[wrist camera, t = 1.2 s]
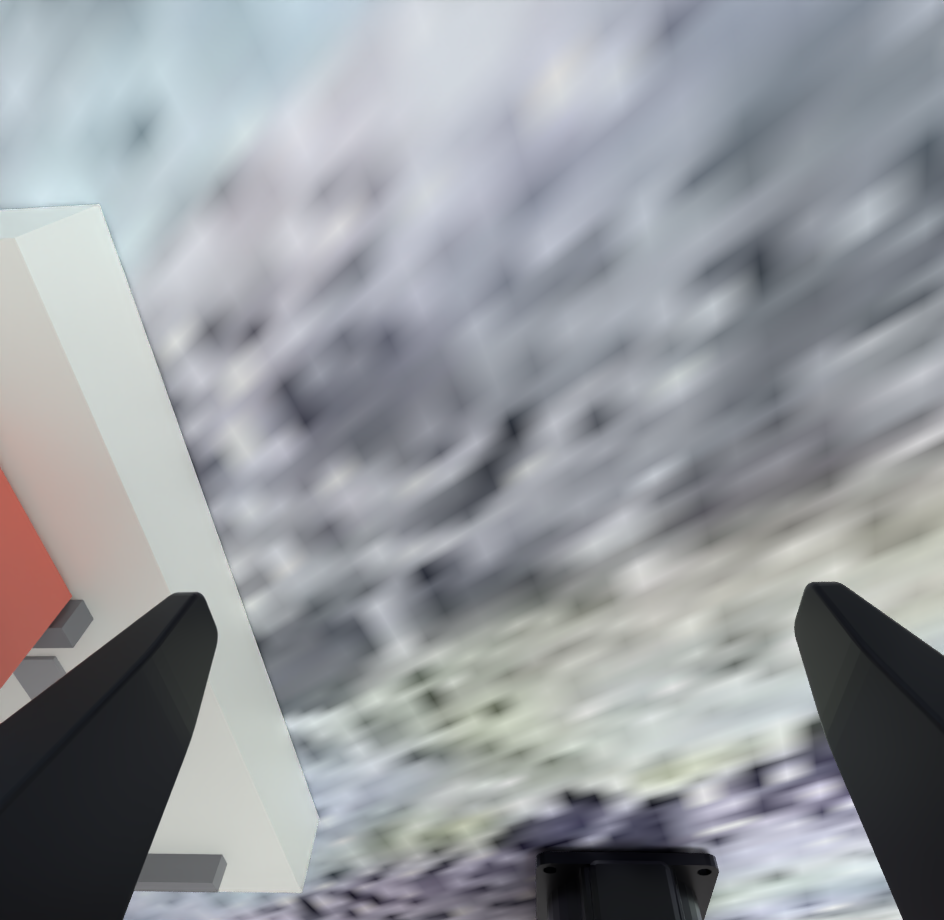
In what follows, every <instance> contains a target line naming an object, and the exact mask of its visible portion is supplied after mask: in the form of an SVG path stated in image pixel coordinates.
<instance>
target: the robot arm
mask: <svg viewBox="0 0 944 920" xmlns="http://www.w3.org/2000/svg"><path fill="white" fill-rule="evenodd" d="M794 630H795V637H796V641H797V644H798V647H799V651H800V654H801V657H802V661H803V664H804V667H805V671H806V674H807V677H808V681H809V684H810V687H811V691H812V694H813V697H814V701H815V704H816V707H817V711H818V714H819V717H820V721H821V724H822V727H823V730H824V733H825V736H826V739H827V741H828V744H829V746H830V749H831V751H832V754H833V756H834V759H835V761H836V763H837V766H838V768H839V770H840V773H841V775H842V777H843V780H844V782H845V784H846V787H847V789H848V791H849V794H850V796H851V799H852V801H853V803H854V806H855V808H856V810H857V813H858V815H859V817H860V820H861V822H862V824H863V827H864V829H865V831H866V834H867V836H868V839H869V841H870V843H871V846H872V848H873V850H874V853H875V855H876V857H877V860H878V862H879V864H880V867H881V869H882V871H883V874H884V876H885V878H886V881H887V883H888V886H889V888H890V890H891V893H892V895H893V897H894V900H895V902H896V904H897V907H898V909H899V911H900V914H901V916H902V918H903V920H944V655H942V654H941V653H939V652H938V651H936V650H935V649H934V648H932V647H931V646H929V645H928V644H927V643H925V642H924V641H922V640H921V639H920V638H918V637H917V636H915V635H914V634H912V633H911V632H910V631H908V630H907V629H905V628H904V627H903V626H901V625H900V624H898V623H897V622H896V621H894V620H893V619H891V618H890V617H888V616H887V615H886V614H884V613H883V612H881V611H880V610H879V609H877V608H876V607H874V606H873V605H872V604H870V603H869V602H867V601H866V600H864V599H863V598H862V597H860V596H859V595H857V594H856V593H855V592H853V591H852V590H850V589H849V588H848V587H846V586H845V585H843V584H841V583H839V582H812V583H809V584H808V585H807V586H806V588H805V590H804V593H803V596H802V600H801V603H800V606H799V609H798V613H797V616H796V619H795V625H794ZM217 642H218V631H217V627H216V624H215V621H214V619H213V616H212V614H211V611H210V609H209V606H208V604H207V601H206V599H205V597H204V596H203V595H202V594H201V593H199V592H176V593H173V594H171V595H169V596H168V597H167V598H165V599H164V600H163V601H161V602H160V603H159V604H157V605H156V606H155V607H153V608H152V609H151V610H149V611H148V612H147V613H146V614H144V615H143V616H142V617H140V618H139V619H138V620H136V621H135V622H134V623H132V624H131V625H130V626H128V627H127V628H126V629H124V630H123V631H122V632H121V633H119V634H118V635H117V636H115V637H114V638H113V639H111V640H110V641H109V642H107V643H106V644H105V645H103V646H102V647H101V648H99V649H98V650H97V651H95V652H94V653H93V654H92V655H90V656H89V657H88V658H86V659H85V660H84V661H82V662H81V663H80V664H78V665H77V666H76V667H74V668H73V669H72V670H70V671H69V672H68V673H67V674H65V675H64V676H63V677H61V678H60V679H59V680H57V681H56V682H55V683H53V684H52V685H51V686H49V687H48V688H47V689H45V690H44V691H43V692H42V693H40V694H39V695H38V696H36V697H35V698H34V699H32V700H31V701H30V702H28V703H27V704H26V705H24V706H23V707H22V708H20V709H19V710H18V711H17V712H15V713H14V714H13V715H11V716H10V717H9V718H7V719H6V720H5V721H3V722H2V723H1V724H0V920H123V918H124V915H125V913H126V910H127V907H128V905H129V902H130V899H131V897H132V894H133V892H134V889H135V886H136V884H137V881H138V879H139V876H140V873H141V871H142V868H143V865H144V863H145V860H146V858H147V855H148V852H149V850H150V847H151V845H152V842H153V839H154V837H155V834H156V831H157V829H158V826H159V824H160V821H161V818H162V816H163V813H164V810H165V808H166V805H167V803H168V800H169V797H170V795H171V792H172V790H173V787H174V784H175V782H176V779H177V776H178V774H179V771H180V769H181V766H182V763H183V761H184V758H185V756H186V753H187V750H188V747H189V744H190V742H191V739H192V736H193V732H194V729H195V726H196V722H197V718H198V715H199V711H200V707H201V703H202V700H203V696H204V692H205V688H206V684H207V681H208V677H209V673H210V669H211V666H212V662H213V658H214V654H215V650H216V647H217ZM718 873H719V870H718V866H717V862H716V858H715V857H714V856H713V855H710V854H705V853H628V852H543V853H540V854H538V855H537V856H536V920H704V918H705V915H706V911H707V908H708V905H709V902H710V899H711V896H712V892H713V889H714V886H715V883H716V880H717V876H718Z"/></svg>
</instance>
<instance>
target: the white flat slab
mask: <svg viewBox="0 0 944 920" xmlns="http://www.w3.org/2000/svg"><path fill="white" fill-rule="evenodd" d="M0 467H1V469H2V471H3V473H4V475H5V476H6V478H7V480H8V482H9V484H10V485H11V487H12V489H13V491H14V493H15V494H16V496H17V498H18V500H19V502H20V503H21V505H22V507H23V509H24V511H25V512H26V514H27V516H28V518H29V520H30V521H31V523H32V525H33V527H34V529H35V530H36V532H37V534H38V536H39V538H40V539H41V541H42V543H43V545H44V547H45V548H46V550H47V552H48V554H49V555H50V557H51V559H52V561H53V563H54V564H55V566H56V568H57V570H58V572H59V573H60V575H61V577H62V579H63V581H64V582H65V584H66V586H67V588H68V590H69V591H70V593H71V595H72V597H71V599H70V600H69V601H68V603H67V604H66V605H65V606H64V608H63V609H62V610H61V612H60V613H59V614H58V615H57V617H56V618H55V619H54V621H53V622H52V623H51V624H50V626H49V627H48V628H47V630H46V631H45V632H44V633H43V635H42V636H41V637H40V639H39V640H38V641H37V642H36V644H35V645H34V646H33V648H32V649H31V650H30V651H29V653H28V654H27V655H26V657H25V658H24V659H23V660H22V662H21V663H20V664H19V666H18V667H17V668H16V670H15V671H14V672H13V673H12V675H11V676H10V677H9V679H8V680H7V681H6V682H5V684H4V685H3V686H2V688H1V689H0V724H1V723H2V722H3V721H5V720H6V719H7V718H9V717H10V716H11V715H13V714H14V713H15V712H17V711H18V710H19V709H20V708H22V707H23V706H24V705H26V704H27V703H28V702H30V701H31V700H32V699H34V698H35V697H36V696H38V695H39V694H40V693H42V692H43V691H44V690H45V689H47V688H48V687H49V686H51V685H52V684H53V683H55V682H56V681H57V680H59V679H60V678H61V677H63V676H64V675H65V674H67V673H68V672H69V671H70V670H72V669H73V668H74V667H76V666H77V665H78V664H80V663H81V662H82V661H84V660H85V659H86V658H88V657H89V656H90V655H92V654H93V653H94V652H95V651H97V650H98V649H99V648H101V647H102V646H103V645H105V644H106V643H107V642H109V641H110V640H111V639H113V638H114V637H115V636H117V635H118V634H119V633H121V632H122V631H123V630H124V629H126V628H127V627H128V626H130V625H131V624H132V623H134V622H135V621H136V620H138V619H139V618H140V617H142V616H143V615H144V614H146V613H147V612H148V611H149V610H151V609H152V608H153V607H155V606H156V605H157V604H159V603H160V602H161V601H163V600H164V599H165V598H167V597H168V596H169V595H171V594H173V593H176V592H199V593H201V594H202V595H203V596H204V597H205V599H206V601H207V604H208V606H209V609H210V611H211V614H212V616H213V619H214V621H215V624H216V627H217V631H218V642H217V647H216V650H215V654H214V658H213V662H212V666H211V669H210V673H209V677H208V681H207V684H206V688H205V692H204V696H203V700H202V703H201V707H200V711H199V715H198V718H197V722H196V726H195V729H194V732H193V736H192V739H191V742H190V744H189V747H188V750H187V753H186V756H185V758H184V761H183V763H182V766H181V769H180V771H179V774H178V776H177V779H176V782H175V784H174V787H173V790H172V792H171V795H170V797H169V800H168V803H167V805H166V808H165V810H164V813H163V816H162V818H161V821H160V824H159V826H158V829H157V831H156V834H155V837H154V839H153V842H152V845H151V847H150V850H149V852H148V855H147V858H146V860H145V863H144V865H143V868H142V871H141V873H140V876H139V879H138V881H137V884H136V886H135V889H134V891H168V892H265V893H302V891H303V887H304V882H305V878H306V874H307V870H308V865H309V861H310V857H311V853H312V848H313V844H314V840H315V836H316V831H317V827H318V823H319V816H318V813H317V811H316V808H315V805H314V802H313V799H312V797H311V794H310V791H309V788H308V785H307V783H306V780H305V777H304V774H303V771H302V769H301V766H300V763H299V760H298V758H297V755H296V752H295V749H294V746H293V744H292V741H291V738H290V735H289V732H288V730H287V727H286V724H285V721H284V718H283V716H282V713H281V710H280V707H279V704H278V702H277V699H276V696H275V693H274V690H273V688H272V685H271V682H270V679H269V676H268V674H267V671H266V668H265V665H264V662H263V660H262V657H261V654H260V651H259V648H258V646H257V643H256V640H255V637H254V635H253V632H252V629H251V626H250V623H249V621H248V618H247V615H246V612H245V609H244V607H243V604H242V601H241V598H240V595H239V593H238V590H237V587H236V584H235V581H234V579H233V576H232V573H231V570H230V567H229V565H228V562H227V559H226V556H225V553H224V551H223V548H222V545H221V542H220V539H219V537H218V534H217V531H216V528H215V525H214V523H213V520H212V517H211V514H210V512H209V509H208V506H207V503H206V500H205V498H204V495H203V492H202V489H201V486H200V484H199V481H198V478H197V475H196V472H195V470H194V467H193V464H192V461H191V458H190V456H189V453H188V450H187V447H186V444H185V442H184V439H183V436H182V433H181V430H180V428H179V425H178V422H177V419H176V416H175V414H174V411H173V408H172V405H171V402H170V400H169V397H168V394H167V391H166V389H165V386H164V383H163V380H162V377H161V375H160V372H159V369H158V366H157V363H156V361H155V358H154V355H153V352H152V349H151V347H150V344H149V341H148V338H147V335H146V333H145V330H144V327H143V324H142V321H141V319H140V316H139V313H138V310H137V307H136V305H135V302H134V299H133V296H132V293H131V291H130V288H129V285H128V282H127V279H126V277H125V274H124V271H123V268H122V266H121V263H120V260H119V257H118V254H117V252H116V249H115V246H114V243H113V240H112V238H111V235H110V232H109V229H108V226H107V224H106V221H105V218H104V215H103V212H102V210H101V207H100V204H91V205H74V206H56V207H38V208H21V209H3V210H0Z"/></svg>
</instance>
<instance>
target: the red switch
mask: <svg viewBox="0 0 944 920" xmlns="http://www.w3.org/2000/svg"><path fill="white" fill-rule="evenodd" d="M71 597H72V595H71V593H70V591H69V590H68V588H67V586H66V584H65V582H64V581H63V579H62V577H61V575H60V573H59V572H58V570H57V568H56V566H55V564H54V563H53V561H52V559H51V557H50V555H49V554H48V552H47V550H46V548H45V547H44V545H43V543H42V541H41V539H40V538H39V536H38V534H37V532H36V530H35V529H34V527H33V525H32V523H31V521H30V520H29V518H28V516H27V514H26V512H25V511H24V509H23V507H22V505H21V503H20V502H19V500H18V498H17V496H16V494H15V493H14V491H13V489H12V487H11V485H10V484H9V482H8V480H7V478H6V476H5V475H4V473H3V471H2V469H1V467H0V689H1V688H2V686H3V685H4V684H5V682H6V681H7V680H8V679H9V677H10V676H11V675H12V673H13V672H14V671H15V670H16V668H17V667H18V666H19V664H20V663H21V662H22V660H23V659H24V658H25V657H26V655H27V654H28V653H29V651H30V650H31V649H32V648H33V646H34V645H35V644H36V642H37V641H38V640H39V639H40V637H41V636H42V635H43V633H44V632H45V631H46V630H47V628H48V627H49V626H50V624H51V623H52V622H53V621H54V619H55V618H56V617H57V615H58V614H59V613H60V612H61V610H62V609H63V608H64V606H65V605H66V604H67V603H68V601H69V600H70V599H71Z"/></svg>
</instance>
